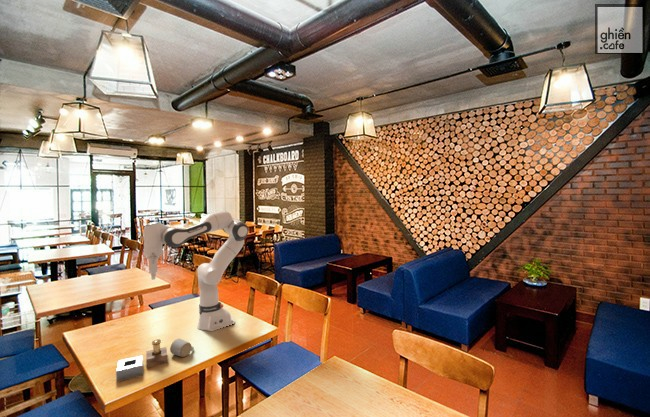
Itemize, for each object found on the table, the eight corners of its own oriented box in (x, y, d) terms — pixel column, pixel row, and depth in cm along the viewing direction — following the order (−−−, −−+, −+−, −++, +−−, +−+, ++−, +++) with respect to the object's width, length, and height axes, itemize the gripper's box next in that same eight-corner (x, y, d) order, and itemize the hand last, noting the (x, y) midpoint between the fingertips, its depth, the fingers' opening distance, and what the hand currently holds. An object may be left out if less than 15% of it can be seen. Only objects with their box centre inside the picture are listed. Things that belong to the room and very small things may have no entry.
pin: (161, 357, 156) (160, 338, 156) (161, 361, 153) (160, 341, 152) (152, 359, 154) (152, 340, 154) (152, 363, 151) (152, 343, 150)
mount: (166, 354, 160) (166, 346, 159) (167, 362, 152) (167, 354, 152) (146, 358, 155) (146, 351, 155) (146, 367, 147) (146, 359, 147)
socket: (142, 364, 150) (142, 355, 149) (142, 375, 141) (142, 365, 141) (118, 370, 145) (118, 360, 144) (116, 382, 136) (116, 371, 136)
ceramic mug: (181, 360, 154) (181, 345, 154) (169, 356, 158) (169, 341, 157) (197, 350, 164) (197, 336, 164) (186, 347, 167) (186, 333, 167)
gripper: (160, 254, 159) (160, 281, 159) (159, 248, 177) (159, 272, 177) (146, 255, 156) (146, 282, 156) (147, 249, 173) (147, 273, 174)
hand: (153, 276), depth 167 cm, fingers open, 8 cm apart
